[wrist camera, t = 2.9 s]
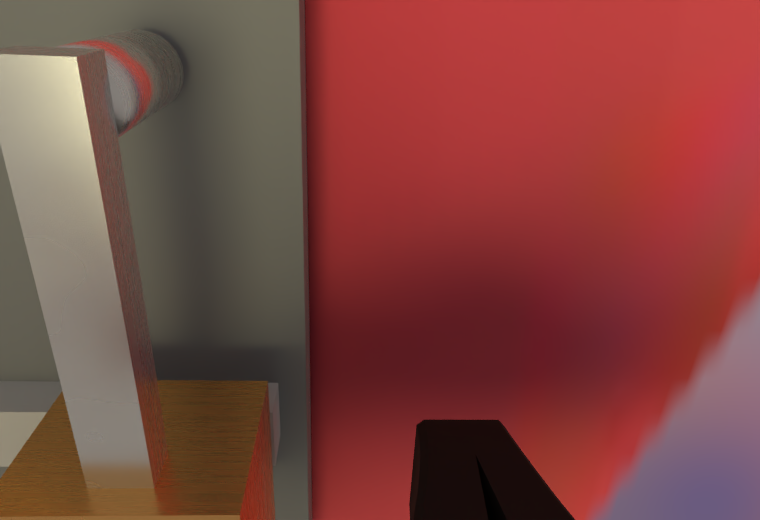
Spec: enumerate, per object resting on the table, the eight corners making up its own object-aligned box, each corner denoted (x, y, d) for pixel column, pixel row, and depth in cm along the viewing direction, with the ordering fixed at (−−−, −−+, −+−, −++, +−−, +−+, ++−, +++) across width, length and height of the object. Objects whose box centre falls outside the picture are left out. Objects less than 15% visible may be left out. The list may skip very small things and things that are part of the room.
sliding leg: (117, 486, 11) (31, 670, 8) (16, 24, 7) (-204, 53, 4) (279, 484, 11) (254, 666, 8) (258, 33, 7) (198, 68, 5)
